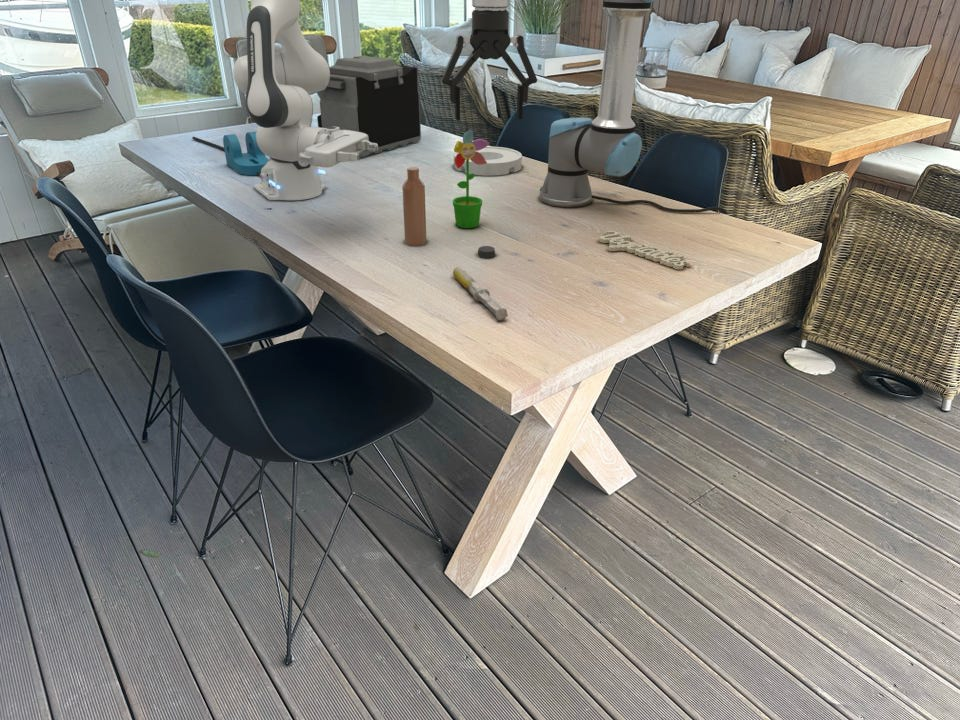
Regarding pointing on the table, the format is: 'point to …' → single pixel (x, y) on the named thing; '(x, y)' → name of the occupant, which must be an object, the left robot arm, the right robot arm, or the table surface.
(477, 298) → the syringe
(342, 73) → the grey and black block
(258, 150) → the camera mount
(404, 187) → the bottle
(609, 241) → the decorative sign
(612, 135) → the right robot arm
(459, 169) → the ashtray
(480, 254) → the cap
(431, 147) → the table surface
